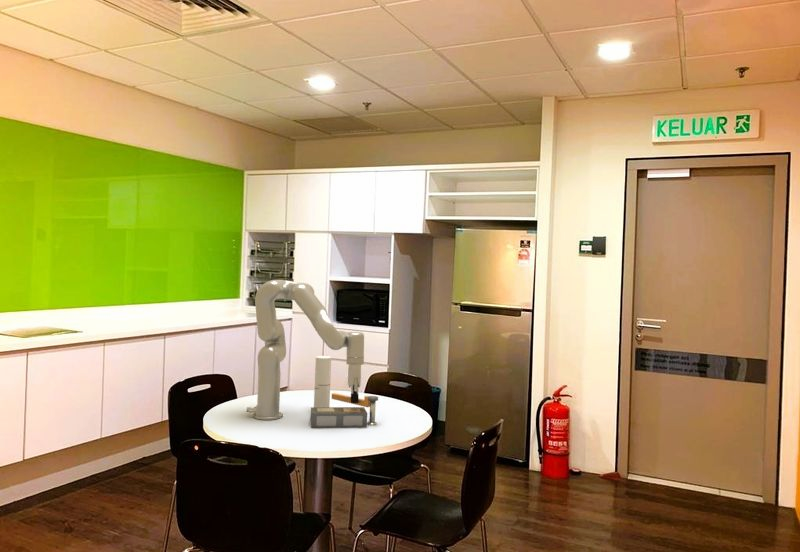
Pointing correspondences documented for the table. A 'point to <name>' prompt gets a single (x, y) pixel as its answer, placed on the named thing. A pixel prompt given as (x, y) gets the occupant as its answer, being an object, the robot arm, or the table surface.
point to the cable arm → (361, 402)
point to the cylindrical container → (322, 381)
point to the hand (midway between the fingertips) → (354, 402)
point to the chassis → (338, 417)
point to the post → (372, 413)
